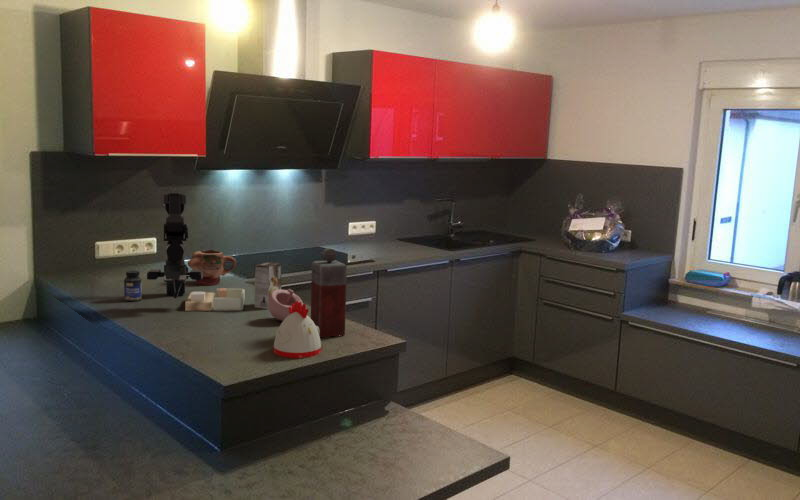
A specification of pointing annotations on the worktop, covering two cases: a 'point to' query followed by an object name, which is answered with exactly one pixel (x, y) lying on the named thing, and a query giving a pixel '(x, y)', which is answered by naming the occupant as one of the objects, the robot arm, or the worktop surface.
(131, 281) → the pill bottle
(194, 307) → the oak board
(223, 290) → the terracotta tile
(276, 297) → the mortar and pestle
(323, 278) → the red square decanter
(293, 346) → the kitchen timer
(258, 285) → the coffee box
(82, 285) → the worktop surface
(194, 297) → the offwhite tile
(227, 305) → the tray
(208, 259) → the decorative planter
